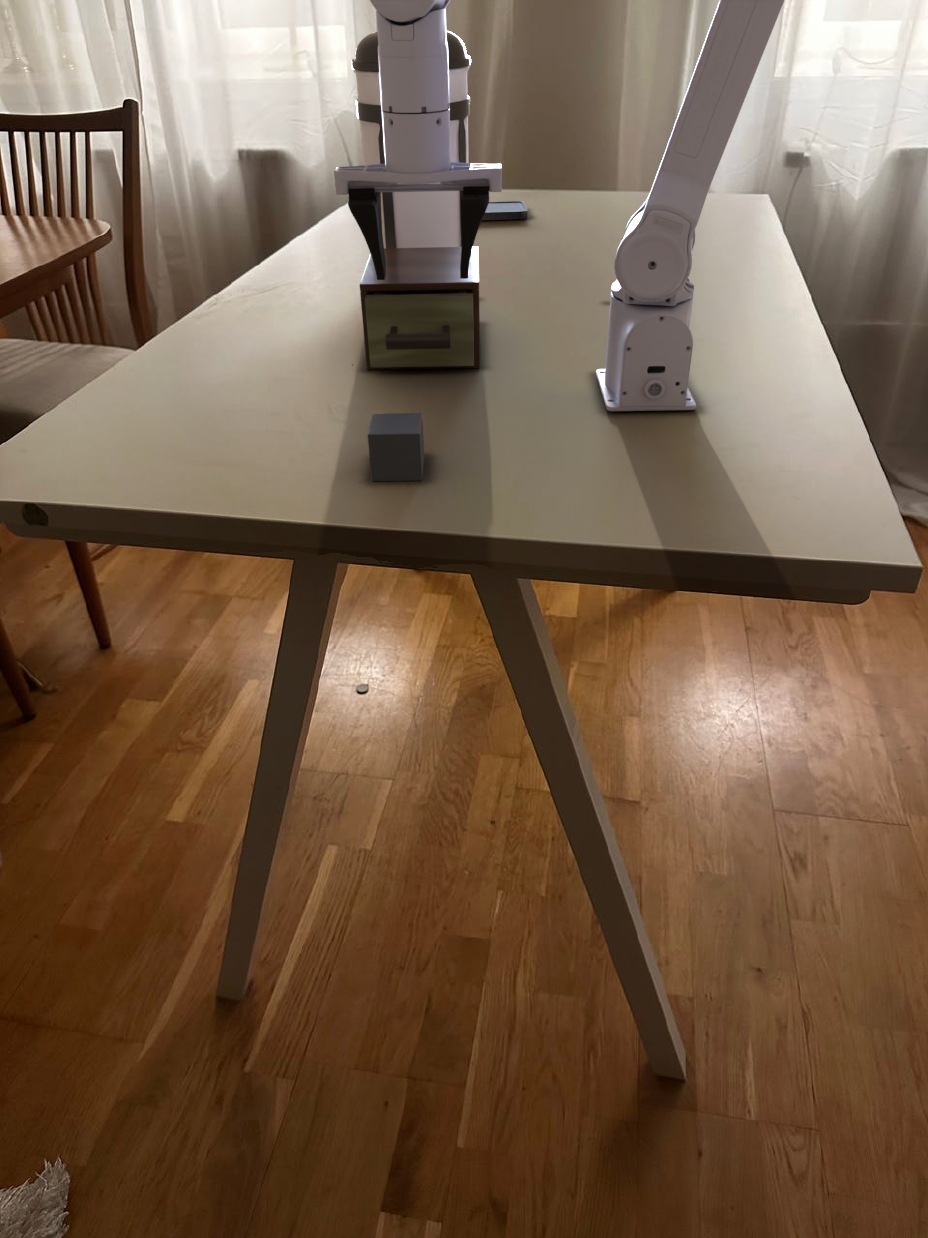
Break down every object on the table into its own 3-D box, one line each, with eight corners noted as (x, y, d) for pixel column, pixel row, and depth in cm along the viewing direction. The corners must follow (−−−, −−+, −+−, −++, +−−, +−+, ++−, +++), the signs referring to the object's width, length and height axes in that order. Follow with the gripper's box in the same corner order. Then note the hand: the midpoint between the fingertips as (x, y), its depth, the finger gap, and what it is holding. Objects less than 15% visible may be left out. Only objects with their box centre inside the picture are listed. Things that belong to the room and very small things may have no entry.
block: (422, 480, 71) (419, 433, 69) (371, 481, 71) (367, 434, 69) (424, 458, 75) (422, 412, 72) (376, 459, 75) (372, 413, 72)
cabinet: (480, 368, 91) (479, 281, 86) (366, 369, 91) (359, 284, 86) (479, 324, 102) (478, 246, 97) (378, 326, 102) (372, 248, 97)
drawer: (474, 382, 86) (472, 310, 82) (366, 384, 86) (360, 312, 82) (473, 325, 99) (473, 261, 95) (380, 326, 99) (376, 263, 95)
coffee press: (510, 285, 114) (512, -5, 96) (435, 319, 103) (423, 1, 86) (400, 266, 122) (384, -4, 104) (321, 297, 111) (288, 2, 94)
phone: (528, 211, 142) (432, 213, 142) (528, 218, 143) (433, 221, 142) (523, 200, 148) (432, 203, 148) (523, 207, 149) (432, 210, 149)
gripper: (501, 101, 79) (500, 263, 87) (335, 104, 80) (350, 265, 88) (502, 112, 74) (501, 284, 81) (324, 115, 74) (341, 286, 82)
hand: (423, 276), depth 84 cm, fingers open, 7 cm apart
